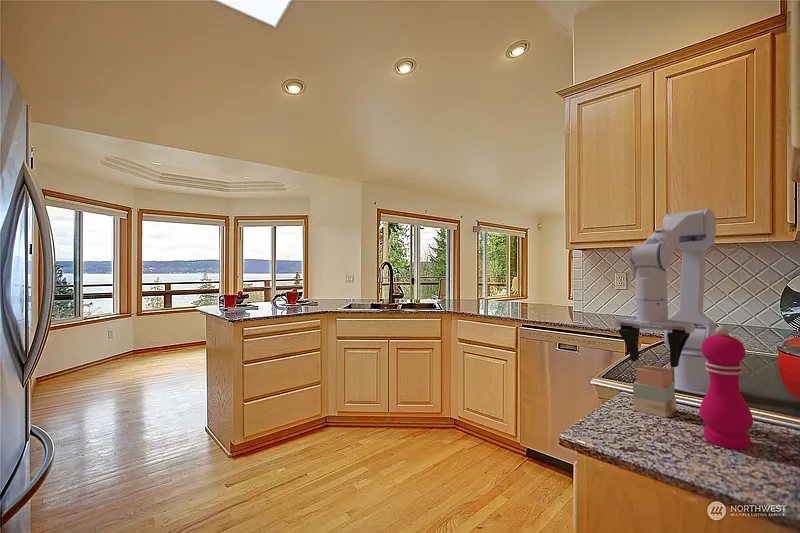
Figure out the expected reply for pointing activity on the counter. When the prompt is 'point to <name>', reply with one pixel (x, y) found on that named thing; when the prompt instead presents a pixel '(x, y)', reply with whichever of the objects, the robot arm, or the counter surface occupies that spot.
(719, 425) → the pepper mill
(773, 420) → the counter surface
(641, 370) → the terracotta block
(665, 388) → the middle block
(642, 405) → the base block
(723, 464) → the counter surface
